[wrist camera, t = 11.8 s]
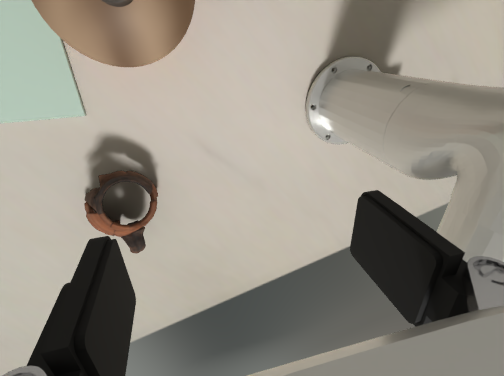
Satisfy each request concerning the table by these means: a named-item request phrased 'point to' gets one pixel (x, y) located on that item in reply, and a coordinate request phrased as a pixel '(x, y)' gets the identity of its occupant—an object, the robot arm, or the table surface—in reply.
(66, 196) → the table surface
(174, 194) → the table surface
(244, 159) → the table surface
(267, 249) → the table surface
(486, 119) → the robot arm
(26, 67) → the mat
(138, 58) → the lid
